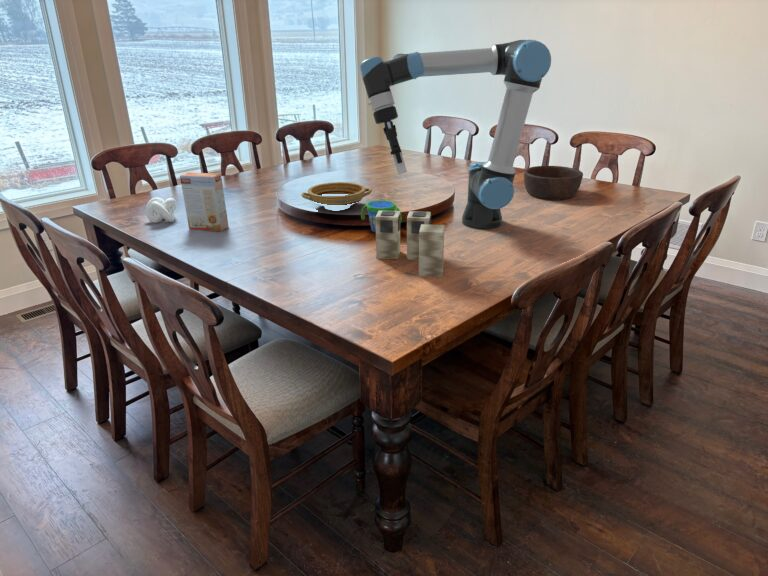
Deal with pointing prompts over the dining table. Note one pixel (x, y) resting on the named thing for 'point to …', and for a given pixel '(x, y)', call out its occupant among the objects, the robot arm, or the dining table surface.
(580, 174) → the wooden bowl
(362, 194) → the collapsible colander
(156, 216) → the white knot sculpture
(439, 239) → the plain block
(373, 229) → the snack cup
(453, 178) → the dining table surface
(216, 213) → the cracker box
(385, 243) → the marked block 2
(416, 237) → the marked block 1
